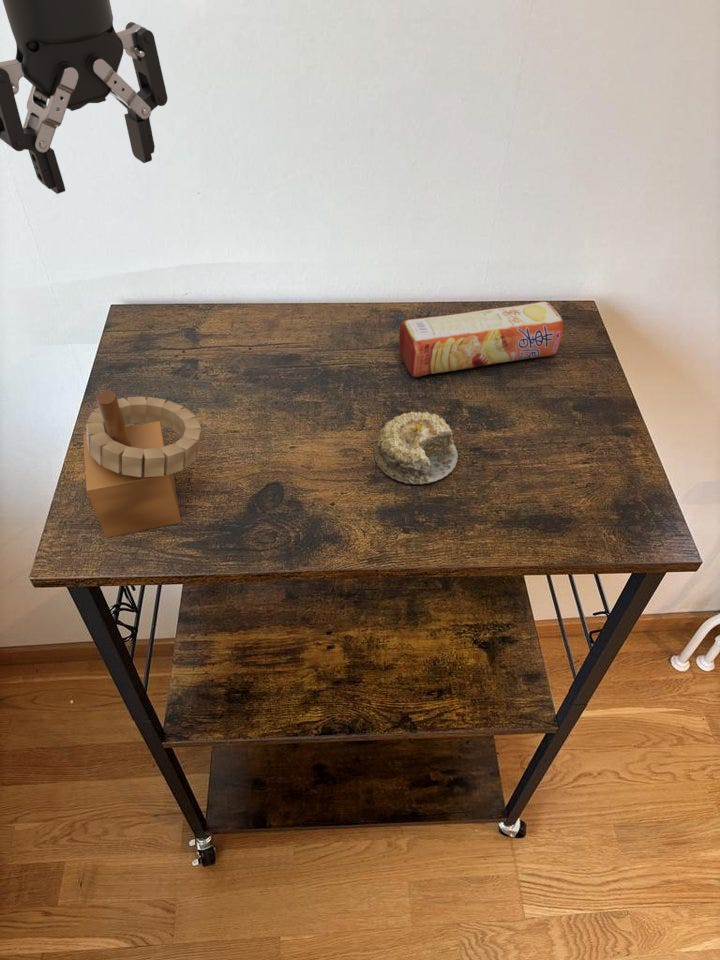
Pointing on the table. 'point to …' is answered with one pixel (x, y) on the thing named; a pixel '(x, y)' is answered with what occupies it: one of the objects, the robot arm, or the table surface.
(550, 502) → the table surface
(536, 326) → the snack package
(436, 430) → the cake
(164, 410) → the ring
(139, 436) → the post
